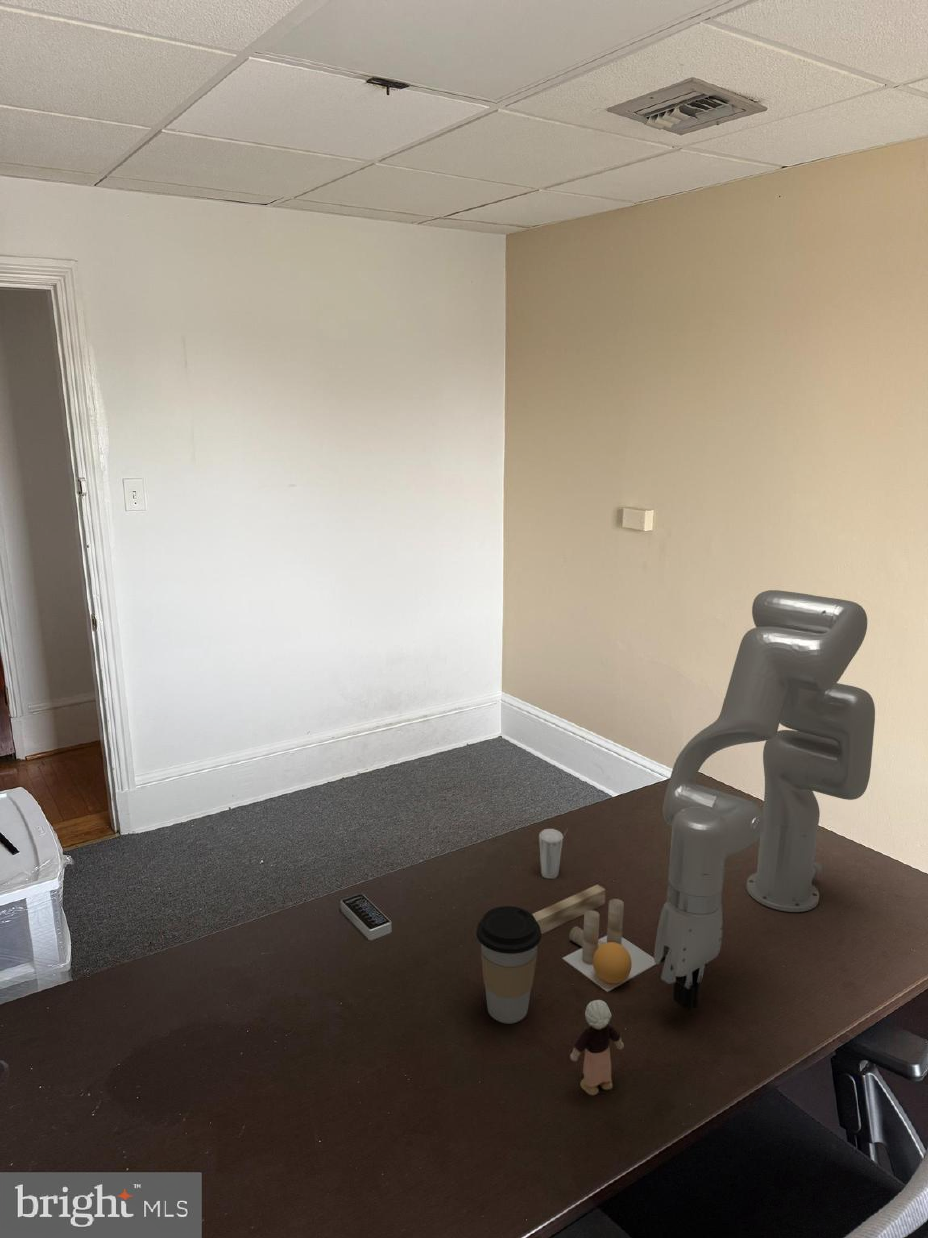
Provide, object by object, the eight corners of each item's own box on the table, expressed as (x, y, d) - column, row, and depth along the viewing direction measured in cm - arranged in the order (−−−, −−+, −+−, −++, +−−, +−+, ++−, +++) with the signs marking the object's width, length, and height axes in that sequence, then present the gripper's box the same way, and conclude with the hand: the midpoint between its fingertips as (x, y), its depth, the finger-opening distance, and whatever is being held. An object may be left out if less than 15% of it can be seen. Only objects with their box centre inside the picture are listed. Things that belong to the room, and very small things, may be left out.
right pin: (613, 942, 144) (616, 897, 142) (624, 949, 142) (626, 904, 140) (603, 947, 142) (605, 902, 140) (613, 954, 140) (616, 909, 138)
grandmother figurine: (605, 1065, 117) (610, 984, 114) (625, 1083, 114) (630, 1001, 111) (561, 1088, 113) (565, 1005, 110) (580, 1108, 110) (584, 1023, 107)
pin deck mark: (613, 932, 146) (613, 931, 146) (659, 962, 139) (659, 961, 139) (562, 959, 139) (562, 958, 139) (607, 992, 132) (607, 991, 132)
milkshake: (564, 882, 161) (566, 834, 159) (536, 879, 162) (538, 831, 160) (566, 870, 166) (568, 823, 163) (539, 867, 167) (540, 820, 164)
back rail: (596, 899, 156) (597, 884, 155) (604, 904, 155) (605, 889, 154) (503, 942, 143) (503, 927, 143) (511, 948, 142) (511, 932, 141)
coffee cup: (545, 997, 130) (548, 910, 127) (529, 1039, 122) (532, 947, 118) (486, 983, 133) (487, 898, 130) (466, 1024, 125) (467, 933, 121)
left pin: (589, 954, 140) (591, 908, 138) (600, 962, 139) (602, 915, 137) (579, 960, 139) (581, 913, 137) (589, 967, 137) (591, 921, 135)
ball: (600, 929, 136) (634, 942, 132) (608, 953, 139) (641, 966, 135) (581, 959, 132) (615, 973, 129) (590, 983, 135) (624, 997, 132)
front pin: (618, 959, 139) (579, 935, 145) (617, 947, 138) (578, 923, 145) (608, 967, 138) (569, 942, 144) (608, 955, 137) (568, 931, 143)
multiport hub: (369, 943, 144) (369, 931, 143) (340, 911, 152) (339, 900, 152) (392, 934, 146) (392, 922, 146) (362, 904, 155) (361, 892, 154)
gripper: (706, 866, 130) (697, 971, 134) (638, 899, 121) (631, 1010, 126) (748, 888, 124) (737, 997, 128) (681, 924, 115) (671, 1040, 120)
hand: (685, 1003), depth 127 cm, fingers closed
